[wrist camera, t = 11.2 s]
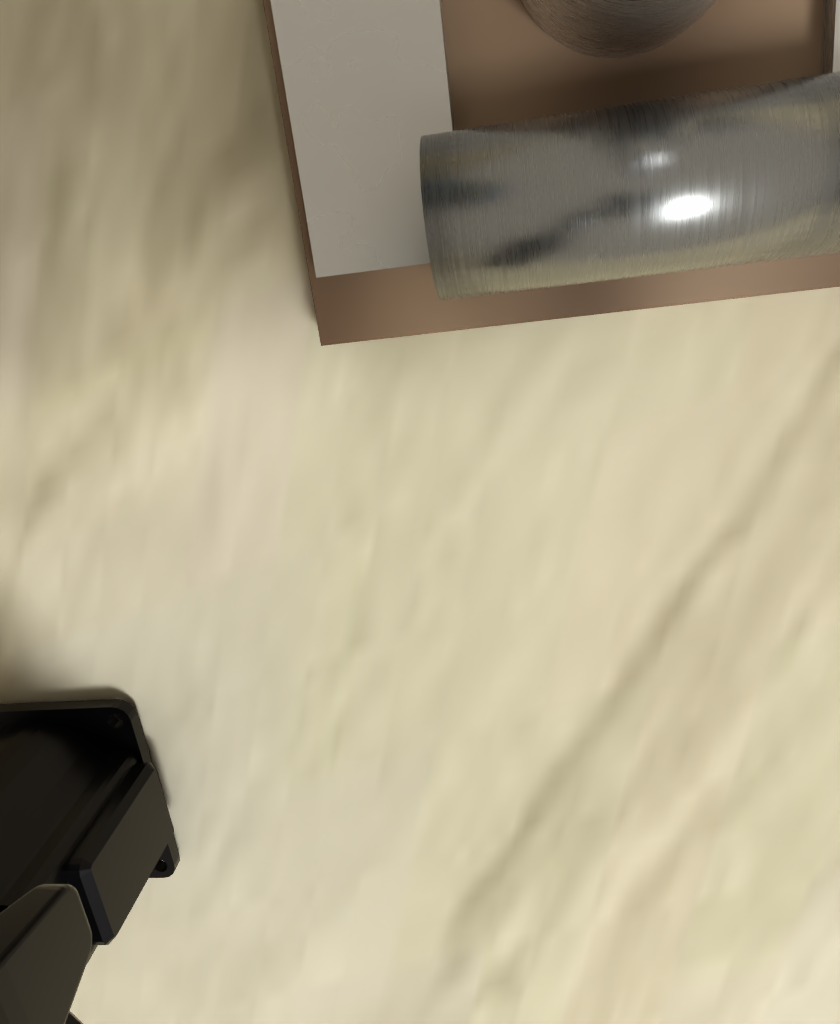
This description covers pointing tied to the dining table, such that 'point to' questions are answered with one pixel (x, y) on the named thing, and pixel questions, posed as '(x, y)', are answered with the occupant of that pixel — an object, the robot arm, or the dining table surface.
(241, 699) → the dining table surface
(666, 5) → the hinge barrel
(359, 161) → the hinge leaves
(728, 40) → the board
